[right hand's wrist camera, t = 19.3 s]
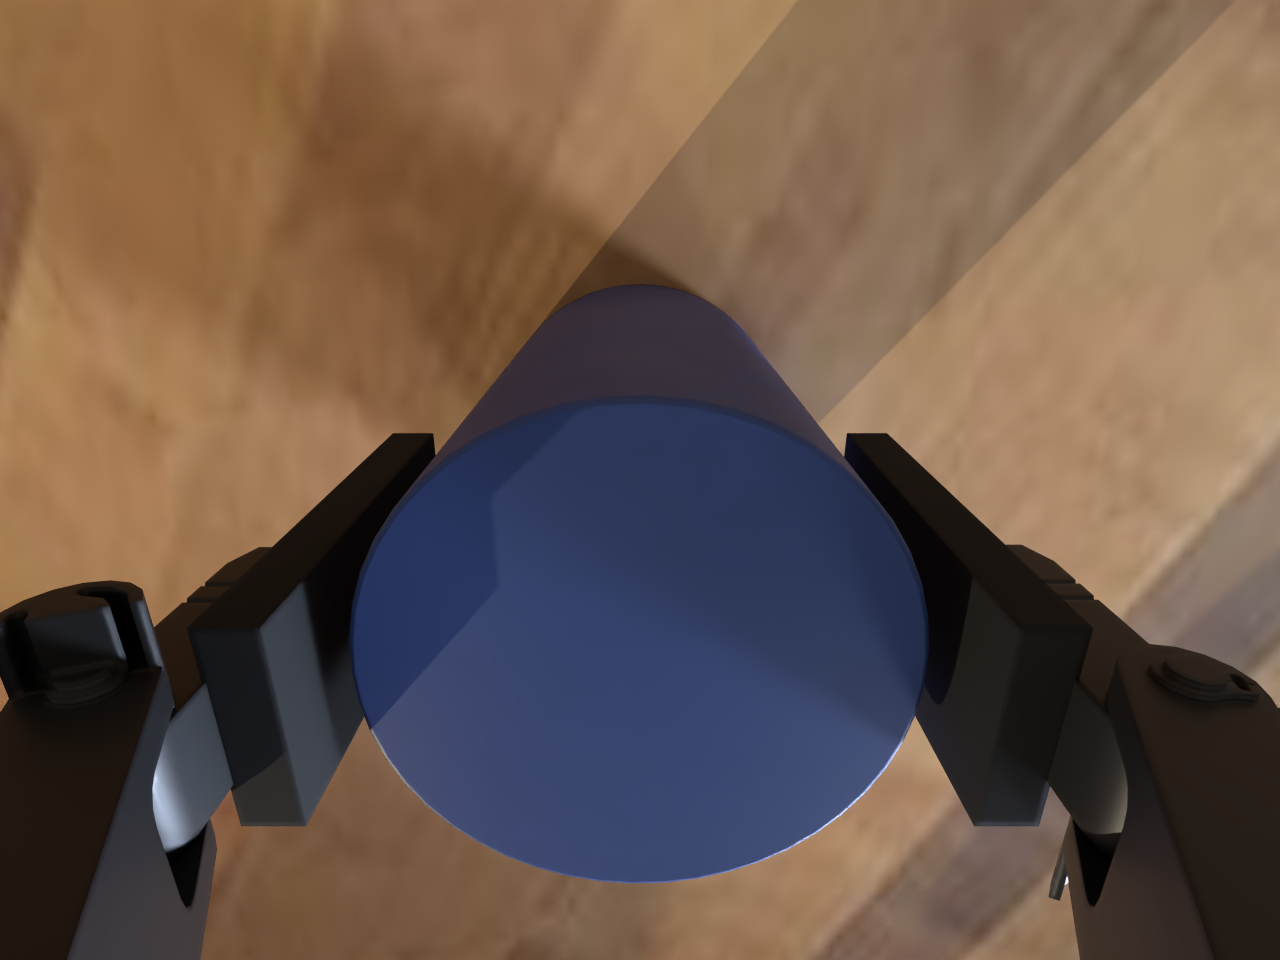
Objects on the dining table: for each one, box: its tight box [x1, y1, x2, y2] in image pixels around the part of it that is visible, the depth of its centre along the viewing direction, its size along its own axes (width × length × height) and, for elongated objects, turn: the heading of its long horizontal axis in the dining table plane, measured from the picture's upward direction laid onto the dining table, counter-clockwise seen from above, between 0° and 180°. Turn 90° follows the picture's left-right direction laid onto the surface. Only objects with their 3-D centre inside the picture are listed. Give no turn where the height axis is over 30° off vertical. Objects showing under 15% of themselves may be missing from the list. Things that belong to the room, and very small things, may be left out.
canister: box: [349, 284, 929, 883], centre depth 13 cm, size 7×7×10 cm
